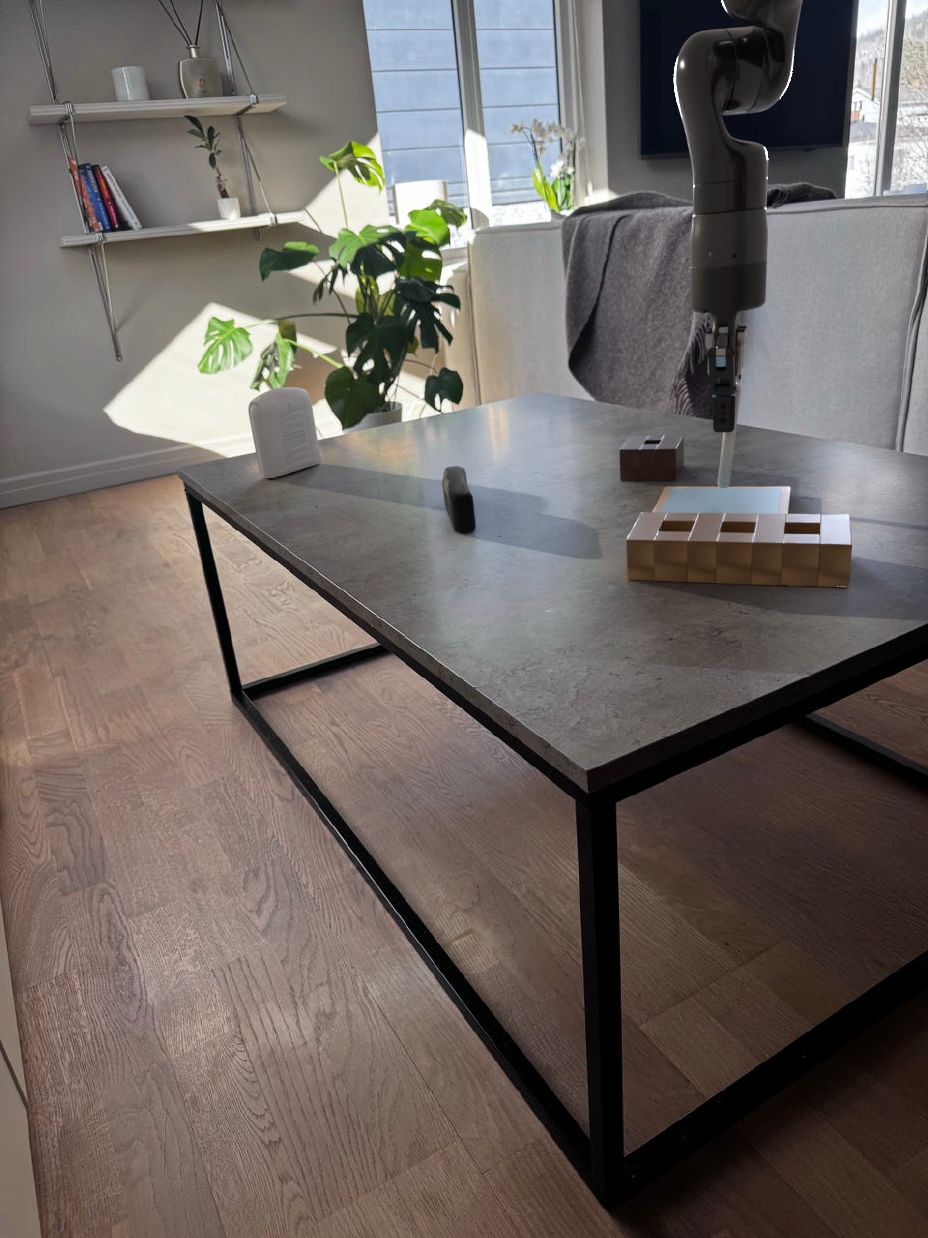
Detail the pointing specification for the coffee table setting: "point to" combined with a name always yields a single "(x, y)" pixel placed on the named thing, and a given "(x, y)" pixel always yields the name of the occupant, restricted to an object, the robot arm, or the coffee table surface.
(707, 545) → the pen holder
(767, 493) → the tablet
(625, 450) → the stand
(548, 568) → the coffee table surface
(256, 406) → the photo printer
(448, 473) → the dark grey tall block
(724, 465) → the stylus
